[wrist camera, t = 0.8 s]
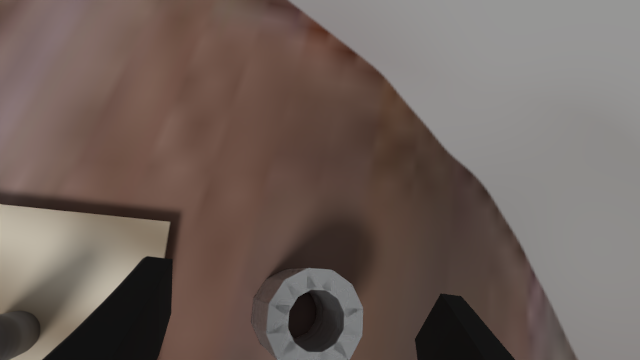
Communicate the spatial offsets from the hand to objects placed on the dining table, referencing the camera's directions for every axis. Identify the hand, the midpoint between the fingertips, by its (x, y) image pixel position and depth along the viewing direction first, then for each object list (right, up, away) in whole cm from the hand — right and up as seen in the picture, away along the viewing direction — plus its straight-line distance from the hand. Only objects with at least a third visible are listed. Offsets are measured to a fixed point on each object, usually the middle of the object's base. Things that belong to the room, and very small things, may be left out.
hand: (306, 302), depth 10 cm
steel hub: (-1, -6, +15) cm, 16 cm away
